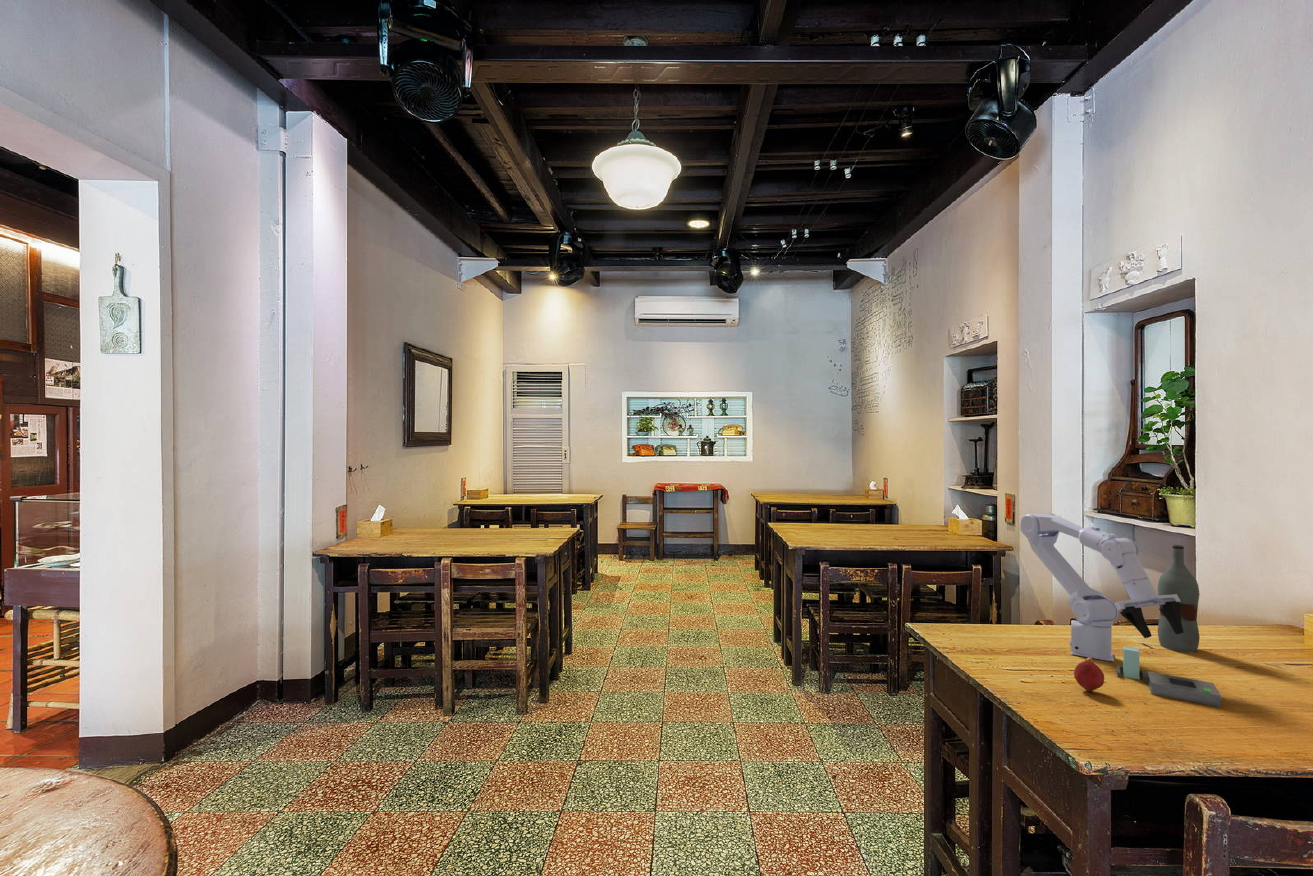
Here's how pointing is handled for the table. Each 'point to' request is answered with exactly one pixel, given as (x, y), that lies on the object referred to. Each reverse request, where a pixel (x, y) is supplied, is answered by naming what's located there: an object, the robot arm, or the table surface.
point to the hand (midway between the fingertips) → (1164, 635)
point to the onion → (1089, 675)
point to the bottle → (1187, 590)
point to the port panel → (1184, 689)
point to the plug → (1131, 662)
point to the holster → (1141, 672)
